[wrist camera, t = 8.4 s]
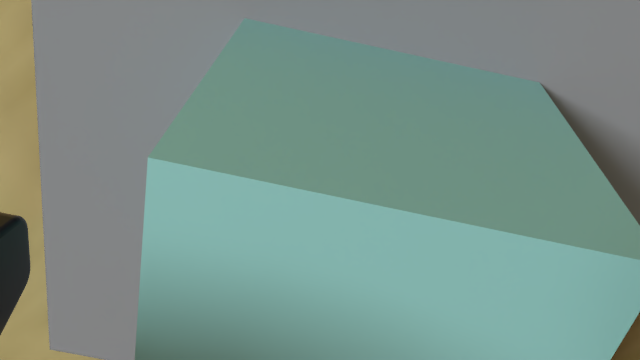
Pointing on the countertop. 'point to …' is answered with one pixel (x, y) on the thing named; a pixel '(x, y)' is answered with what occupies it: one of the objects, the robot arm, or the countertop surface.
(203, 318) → the cube
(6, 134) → the countertop surface
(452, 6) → the mat
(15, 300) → the robot arm
